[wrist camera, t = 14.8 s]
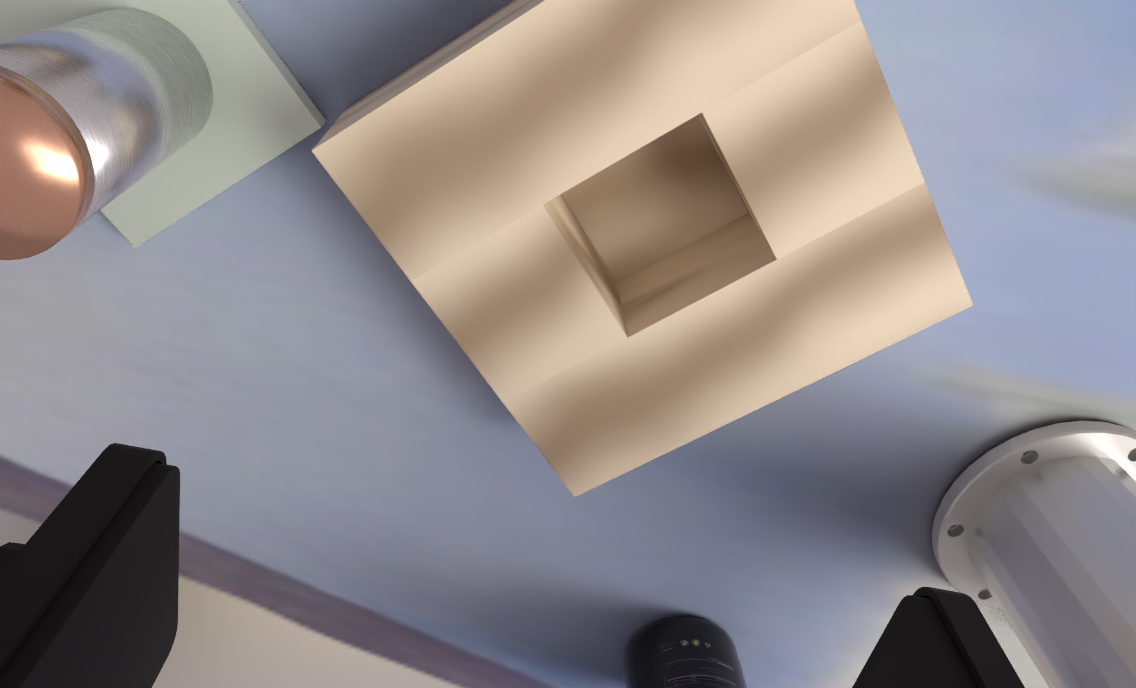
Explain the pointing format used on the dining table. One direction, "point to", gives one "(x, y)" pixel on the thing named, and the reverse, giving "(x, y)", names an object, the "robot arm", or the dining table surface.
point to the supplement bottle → (682, 656)
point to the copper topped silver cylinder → (90, 118)
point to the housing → (650, 212)
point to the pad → (237, 119)
